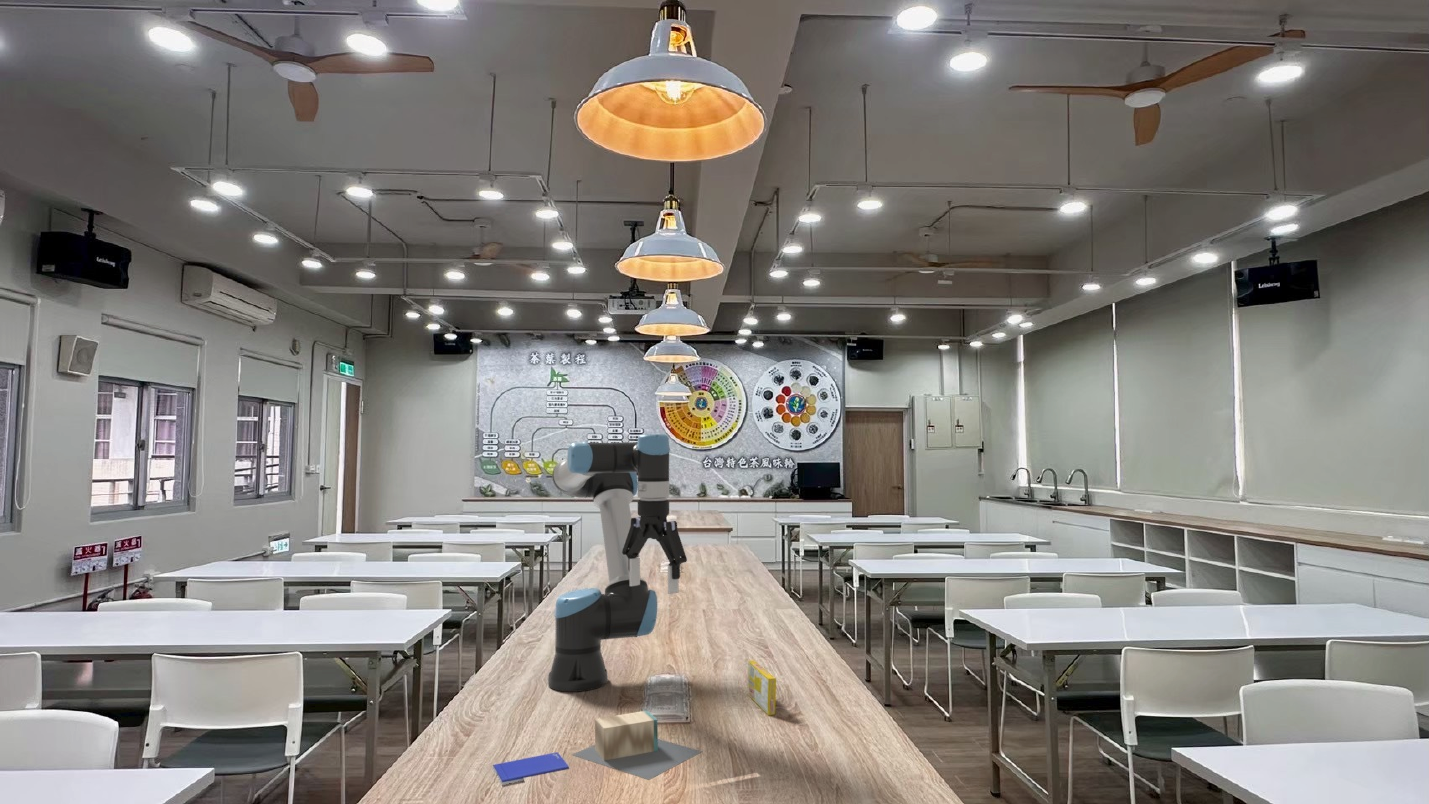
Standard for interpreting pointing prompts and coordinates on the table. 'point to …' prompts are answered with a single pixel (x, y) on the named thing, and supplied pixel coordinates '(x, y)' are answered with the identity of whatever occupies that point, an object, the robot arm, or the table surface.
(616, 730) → the maple block
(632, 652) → the table surface
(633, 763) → the slate mat
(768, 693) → the candy box
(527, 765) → the hard drive
